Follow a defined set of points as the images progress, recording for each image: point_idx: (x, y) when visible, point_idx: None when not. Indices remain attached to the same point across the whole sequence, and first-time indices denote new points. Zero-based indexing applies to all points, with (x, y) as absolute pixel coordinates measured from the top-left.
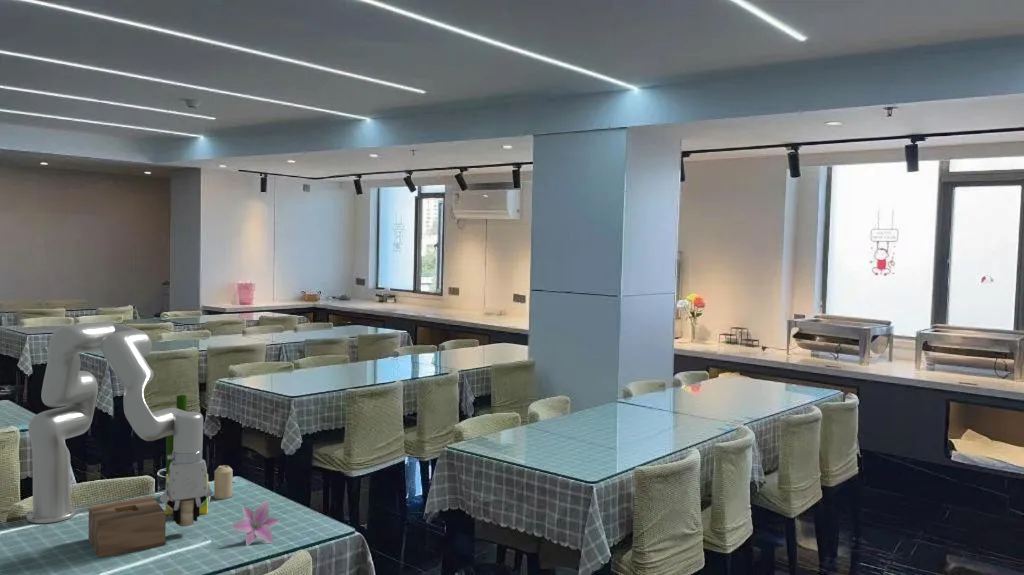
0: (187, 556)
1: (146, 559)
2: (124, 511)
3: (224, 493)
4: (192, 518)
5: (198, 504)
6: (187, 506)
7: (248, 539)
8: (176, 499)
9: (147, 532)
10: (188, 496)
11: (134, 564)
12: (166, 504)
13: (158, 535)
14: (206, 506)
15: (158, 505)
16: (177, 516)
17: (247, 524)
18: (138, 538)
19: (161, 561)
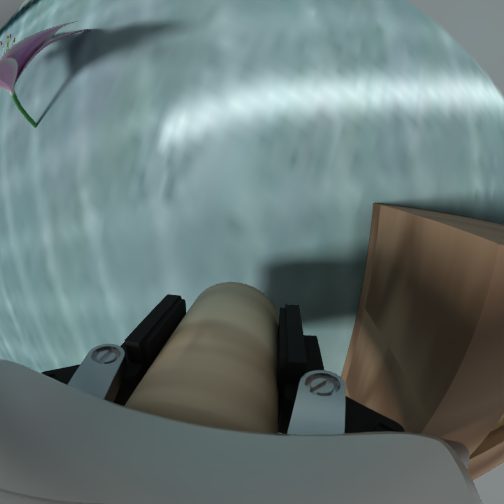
0: (319, 12)
1: (460, 99)
2: (500, 422)
3: None
4: (192, 308)
5: (107, 359)
6: (208, 363)
7: (69, 34)
8: (381, 438)
9: (488, 226)
10: (159, 443)
11: (488, 91)
12: None
13: (430, 214)
14: None
15: None
16: (302, 334)
17: (24, 50)
18: (498, 226)
19: (417, 40)
